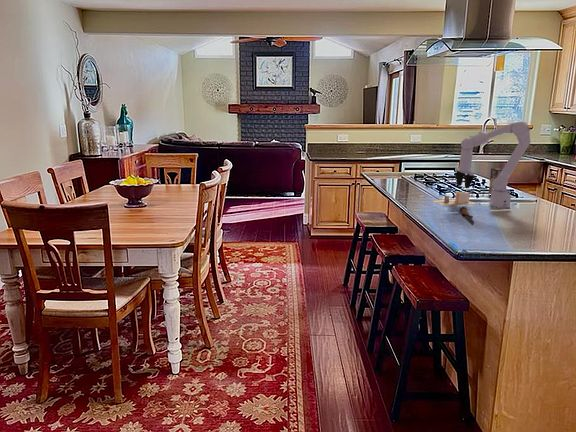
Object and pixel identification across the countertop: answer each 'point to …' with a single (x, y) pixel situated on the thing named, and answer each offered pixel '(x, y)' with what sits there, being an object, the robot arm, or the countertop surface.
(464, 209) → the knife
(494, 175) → the coffee box
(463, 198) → the slotted knob
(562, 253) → the countertop surface
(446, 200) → the shaft board
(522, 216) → the countertop surface
